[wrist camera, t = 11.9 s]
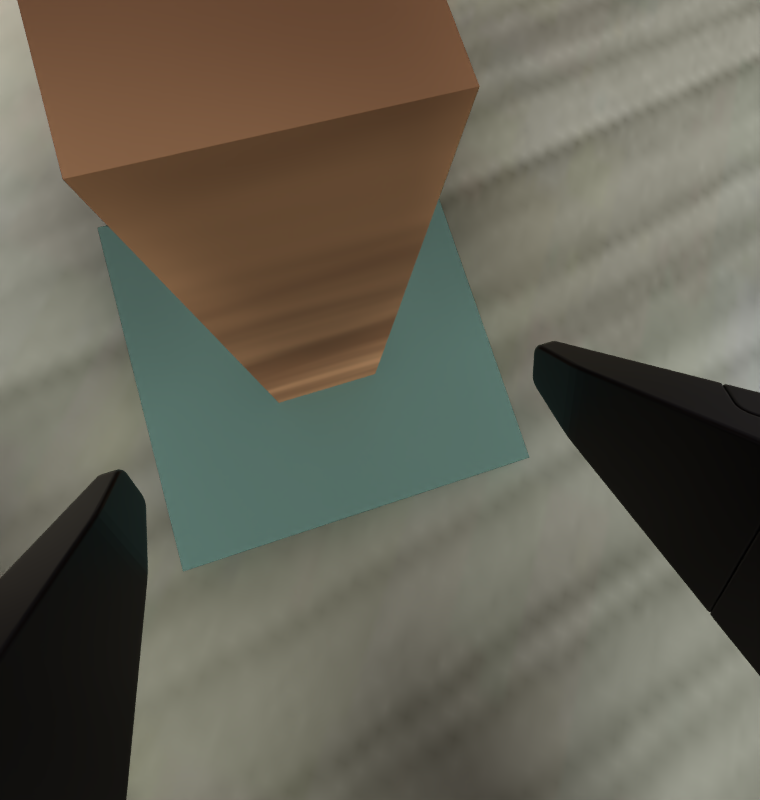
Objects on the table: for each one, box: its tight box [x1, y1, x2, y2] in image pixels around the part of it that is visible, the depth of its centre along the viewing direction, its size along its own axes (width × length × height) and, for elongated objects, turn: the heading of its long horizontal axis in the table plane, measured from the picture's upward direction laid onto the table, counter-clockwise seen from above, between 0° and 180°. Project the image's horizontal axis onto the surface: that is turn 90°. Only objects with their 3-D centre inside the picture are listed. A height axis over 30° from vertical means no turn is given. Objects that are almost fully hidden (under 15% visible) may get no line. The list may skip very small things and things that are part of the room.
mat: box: [98, 199, 529, 571], centre depth 19 cm, size 14×14×1 cm
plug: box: [17, 0, 479, 403], centre depth 11 cm, size 4×4×14 cm
